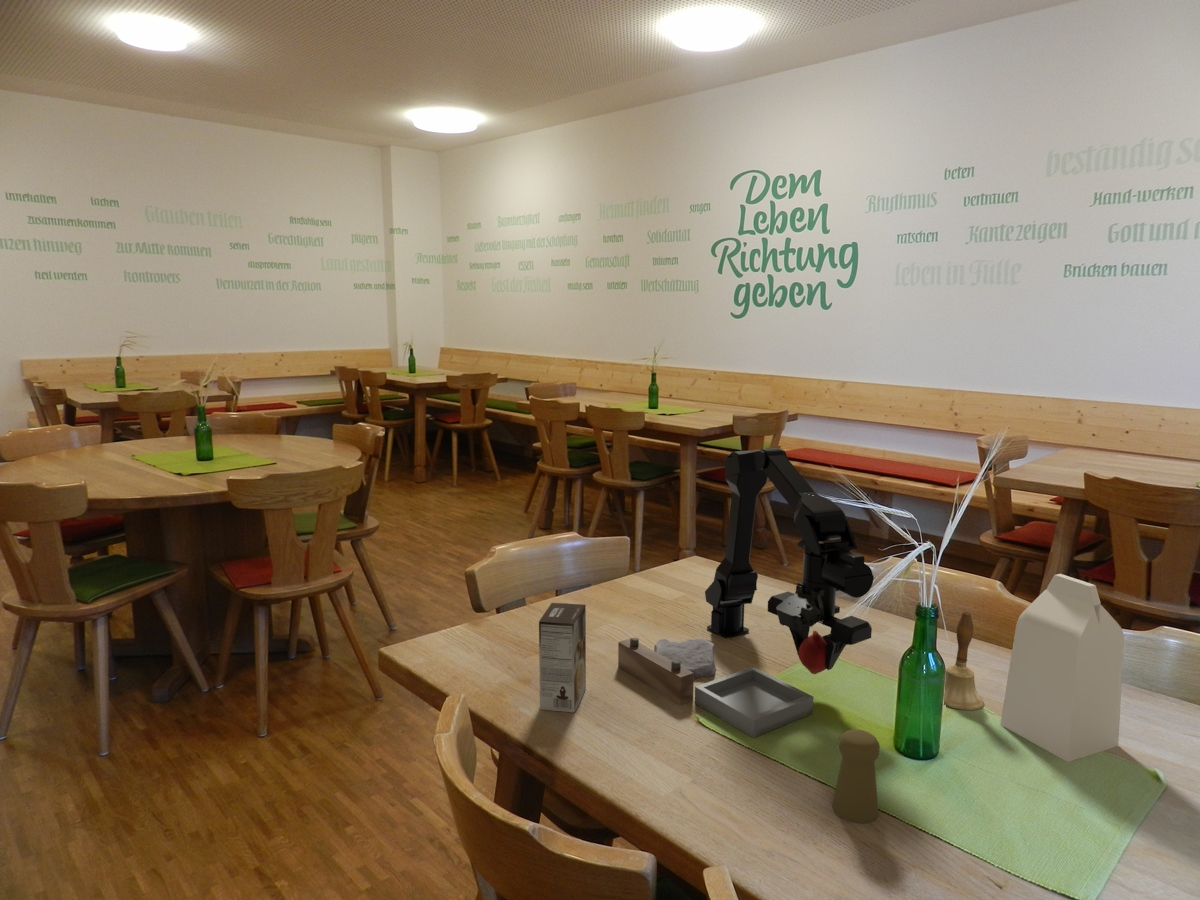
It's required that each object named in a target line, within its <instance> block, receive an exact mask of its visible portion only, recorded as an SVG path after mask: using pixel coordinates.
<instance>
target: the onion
mask: <svg viewBox="0 0 1200 900" xmlns="http://www.w3.org/2000/svg"><path fill="white" fill-rule="evenodd" d="M822 636H823V635H821V634H819V632H818V631H817V630H813V631H812V634H811V635H808V637H807V638H806V639H805V640H804V641H803V642H802V643H801V645H800V648H799V652H798V653H797V656H798V655H799V656H798V658H799V661H800V663H801V665H802V666H804V667H805V669H807V670H808V671H809V673H811V674H813V675H817V674H819V673H822V672H823V671H826V670H827V669H826V648H827V643H826V641H825V640H824V639H823V637H822Z"/></svg>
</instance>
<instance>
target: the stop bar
mask: <svg viewBox="0 0 1200 900" xmlns="http://www.w3.org/2000/svg"><path fill="white" fill-rule="evenodd" d="M639 641H640V640H639V638H638V637H631V638H628V639H624V640H621V641H618V650H617V651H618V654H617V655H618V657H617V658H618V660H617V661H618V663H617V664H618V667H617V668H619V669H621V670H622V671H625V672H626V673H628V674H629V675H631V676H633V677H634V678H636V679H638V680H639V681H641V682H642V683H644V684H646V685H647V686H649V687H650V688H652V689H654V690H655V691H657V692H659V693H661V694H662V695H664V696H665V697H666V698H668V699H670V700H672V701H674V702H675V703H677V704H679V705H682V704H685V703H688V702H691V701H693V700H694V680H695V679H694V678H695V676H694V673H693V672H691V671H689V670H688V669H686V668H684V667H682V666H681V662H680V661H677V660H674V661H671V660H669V659H668V658H666V657H664V656H662V655H660V654H659V653H657V652H655V651H654V649H651V648H650V647H648V646H646V645H644V644H642V643H641V642H639Z"/></svg>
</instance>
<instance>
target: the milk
mask: <svg viewBox="0 0 1200 900" xmlns="http://www.w3.org/2000/svg"><path fill="white" fill-rule="evenodd" d="M1014 630H1015V631H1014V638H1013V644H1012V650H1011V654H1010V656H1011V657H1010V661H1009V667H1008V668H1009V669H1008V675H1007V680H1006V687H1005V692H1004V699H1003V705H1002V710H1001V718H1000V721H999V722H1000V726H1001V727H1004V728H1005V729H1007V730H1009V731H1011V732H1013V733H1015V734H1016V735H1018V736H1020V737H1022V738H1024V739H1025V740H1027V741H1029V742H1031V743H1033V744H1034V745H1036V746H1038V747H1040V748H1041V749H1043V750H1046V751H1047V752H1048V753H1051V754H1053V755H1055V756H1056V757H1057V758H1060V759H1062V760H1063V761H1065V762H1066V763H1067V762H1071V761H1075V760H1077V759H1078V760H1079V759H1080V758H1084V757H1088V756H1090V755H1094V754H1098V753H1100V752H1103V751H1106V750H1111V749H1113V748H1117V747H1119V743H1120V742H1119V740H1120V739H1119V738H1120V723H1121V722H1120V720H1121V703H1122V702H1121V701H1122V683H1123V668H1124V667H1123V666H1124V665H1123V664H1124V649H1125V648H1124V647H1125V646H1124V645H1125V634H1124V631H1123V629H1122V627H1121V625H1120V624H1119V623H1118V622H1117V621H1116V620H1115V618H1114V617H1113V616H1112V615H1111V614H1110V613H1109V612H1108V611H1107V610H1106V609H1105V608H1104V606H1103V605H1102V602H1101V600H1100V596H1099V593H1098V589H1097V585H1096V584H1092V583H1090V582H1087V581H1084V580H1081V579H1077V578H1075V577H1071V576H1068V575H1065V574H1063V573H1057V574H1054V575H1053V577H1052V578H1051V581H1050V582H1049V583H1048V585H1047V586H1046V589H1044V590H1043V591H1042V592H1041V593H1040V595H1038V596H1037V598H1035V599H1034V600H1033V601H1032V602H1031V603H1030V604H1029V606H1027V607H1026V608H1025V609H1024V610H1023V611H1022V613H1021V614H1020V615H1019V617H1018V618H1017V622H1016V625H1015V629H1014Z"/></svg>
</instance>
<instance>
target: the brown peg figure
mask: <svg viewBox="0 0 1200 900" xmlns="http://www.w3.org/2000/svg"><path fill="white" fill-rule="evenodd" d="M838 748H839V752H840V754H841V755H840V756H842V757H841V762H840V766H839V772H838V775H837V780H836V785H835V791H834V795H833V800H832V805H831V806H832V810H833V812H834V813H835V814H836V815H837V816H839V817H840V818H842V819H844V820H846V821H849V822H853V823H856V824H857V823H858V824H867V823H872V822H874V821H876V819H877V818H878V817H879V805H878V803H879V802H878V791H877V790H878V789H877V779H876V778H877V777H876V776H877V775H876V764H875V762H876V761H877V759H878V758H879V755H880V743H879V741H878V739H877V737H876V736H875V735H874V734H872V733H871V732H868V731H866V730H863V729H855V728H854V729H848V730H845V731H844V732H843V733H842V734H841V736H840V738H839V742H838Z"/></svg>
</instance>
